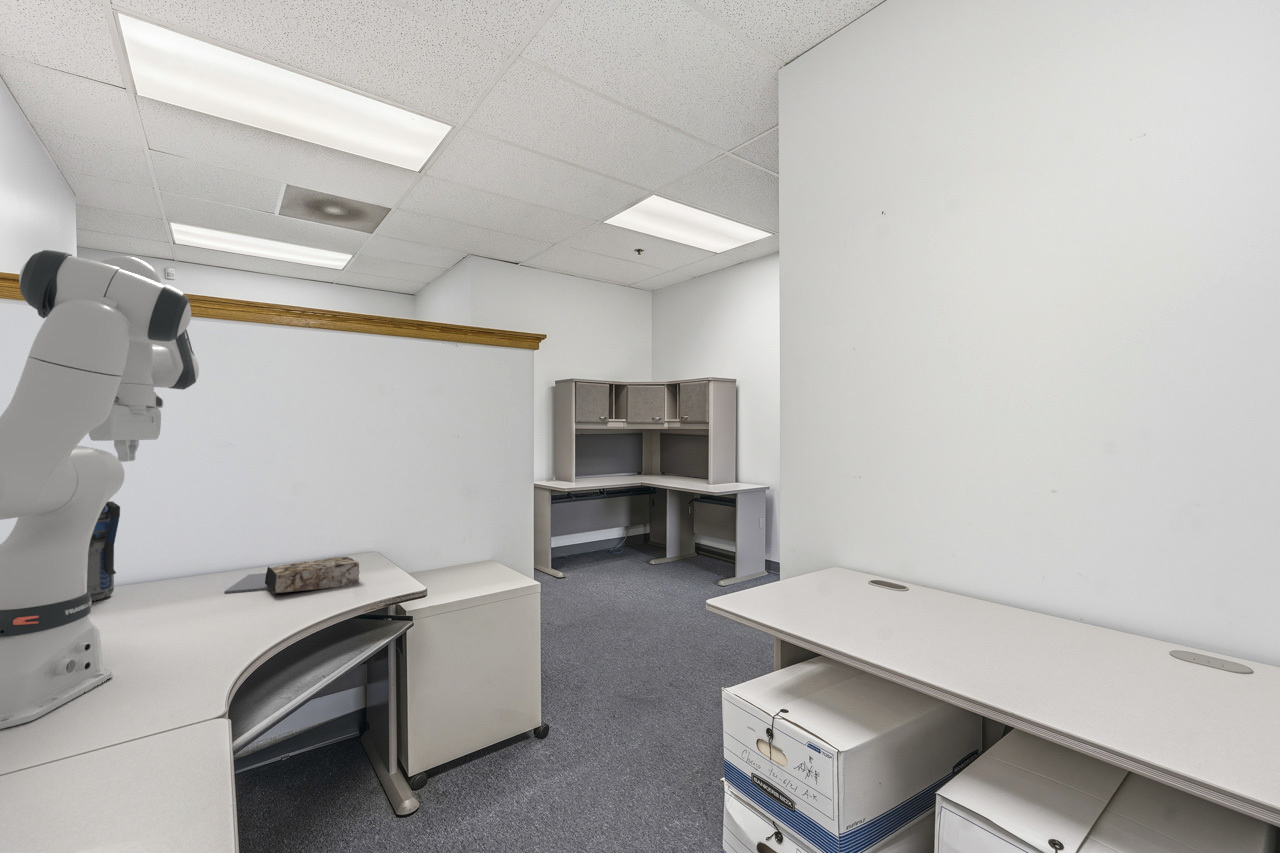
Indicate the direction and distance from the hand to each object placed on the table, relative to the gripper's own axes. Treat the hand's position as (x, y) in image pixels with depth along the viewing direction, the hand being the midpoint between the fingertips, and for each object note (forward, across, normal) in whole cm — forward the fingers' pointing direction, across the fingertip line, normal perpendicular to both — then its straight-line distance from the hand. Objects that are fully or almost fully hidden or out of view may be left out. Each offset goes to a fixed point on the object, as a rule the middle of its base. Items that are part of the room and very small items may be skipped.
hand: (126, 461), depth 120 cm
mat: (+35, +27, -21) cm, 49 cm away
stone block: (+32, +15, -23) cm, 42 cm away
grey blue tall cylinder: (+35, +24, +18) cm, 46 cm away
